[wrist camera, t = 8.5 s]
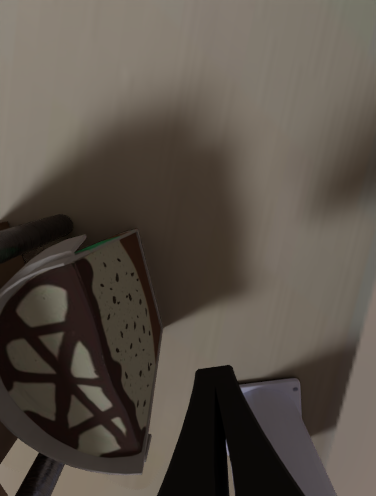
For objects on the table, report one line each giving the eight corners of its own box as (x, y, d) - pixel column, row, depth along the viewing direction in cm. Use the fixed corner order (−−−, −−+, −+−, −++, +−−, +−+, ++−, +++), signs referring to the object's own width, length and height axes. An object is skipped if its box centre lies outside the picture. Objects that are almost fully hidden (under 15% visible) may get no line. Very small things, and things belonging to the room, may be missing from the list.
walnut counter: (117, 356, 21) (21, 588, 9) (57, 364, 22) (-109, 597, 10) (67, 209, 17) (-220, 285, 5) (-5, 223, 18) (-425, 322, 6)
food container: (56, 223, 18) (-105, 277, 8) (132, 209, 17) (58, 248, 8) (102, 350, 21) (28, 492, 12) (166, 341, 21) (144, 481, 11)
